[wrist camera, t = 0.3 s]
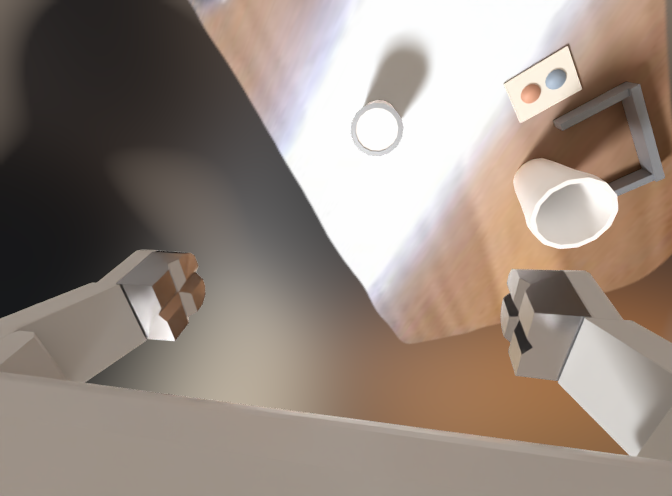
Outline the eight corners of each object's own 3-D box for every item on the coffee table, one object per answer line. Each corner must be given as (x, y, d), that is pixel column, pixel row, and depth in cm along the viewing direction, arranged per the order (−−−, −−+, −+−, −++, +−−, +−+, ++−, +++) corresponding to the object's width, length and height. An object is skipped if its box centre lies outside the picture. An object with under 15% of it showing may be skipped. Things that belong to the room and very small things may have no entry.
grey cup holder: (583, 200, 54) (592, 208, 52) (552, 120, 49) (561, 125, 47) (651, 170, 51) (665, 177, 48) (625, 81, 46) (639, 84, 43)
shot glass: (350, 136, 54) (344, 148, 48) (362, 89, 50) (358, 95, 44) (393, 148, 54) (393, 162, 48) (408, 102, 51) (410, 111, 45)
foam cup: (491, 196, 56) (515, 235, 45) (521, 139, 51) (558, 168, 40) (547, 213, 56) (586, 257, 45) (584, 158, 51) (637, 191, 40)
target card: (519, 122, 50) (520, 123, 49) (503, 83, 48) (504, 84, 47) (581, 89, 47) (582, 89, 46) (566, 45, 45) (568, 46, 44)
